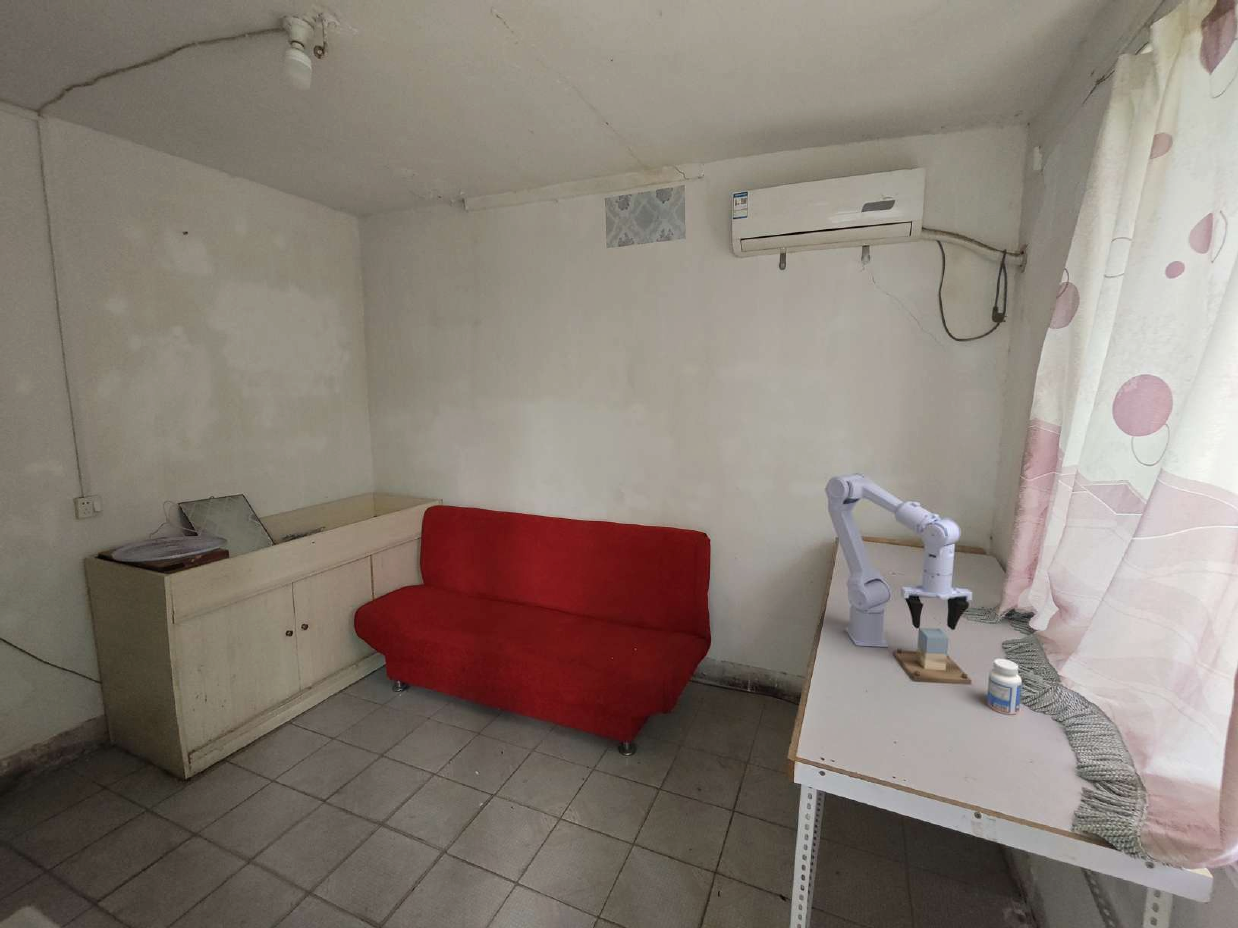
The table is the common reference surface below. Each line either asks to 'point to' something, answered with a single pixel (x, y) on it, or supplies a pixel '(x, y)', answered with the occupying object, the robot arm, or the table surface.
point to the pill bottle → (1004, 687)
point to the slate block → (933, 641)
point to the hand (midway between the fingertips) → (933, 627)
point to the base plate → (926, 675)
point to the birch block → (931, 660)
